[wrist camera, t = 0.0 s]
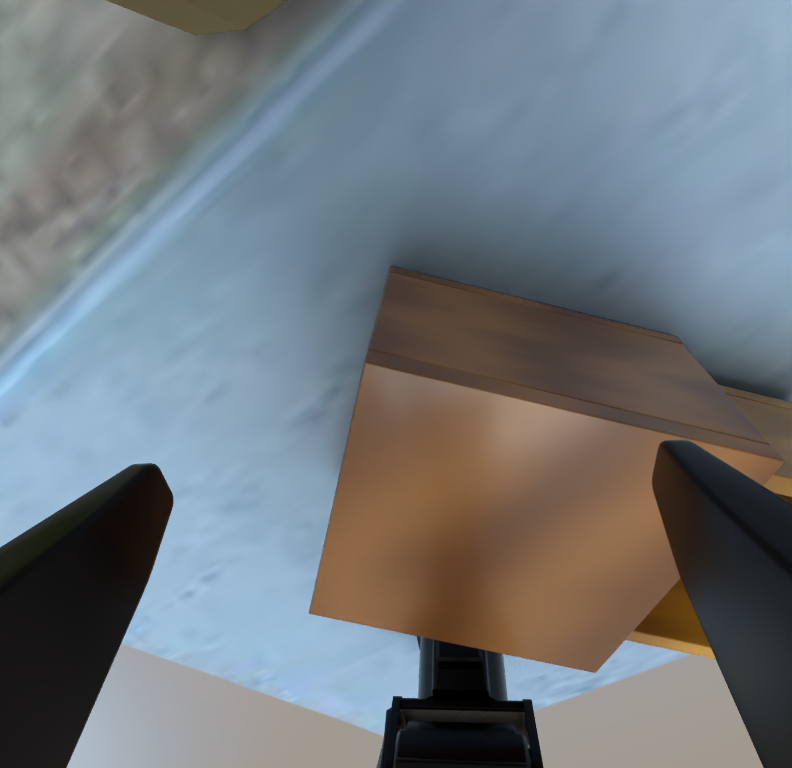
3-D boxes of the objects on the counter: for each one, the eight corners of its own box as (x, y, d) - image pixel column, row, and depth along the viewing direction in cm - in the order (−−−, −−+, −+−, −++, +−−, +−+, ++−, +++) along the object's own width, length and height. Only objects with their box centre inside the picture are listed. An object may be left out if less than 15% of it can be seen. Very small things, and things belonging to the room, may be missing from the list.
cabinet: (677, 336, 23) (786, 461, 15) (559, 528, 30) (595, 673, 23) (390, 264, 22) (364, 361, 15) (341, 479, 29) (308, 614, 22)
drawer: (948, 422, 23) (1115, 540, 17) (777, 580, 30) (857, 702, 24) (609, 339, 22) (666, 434, 16) (512, 521, 29) (529, 633, 23)
